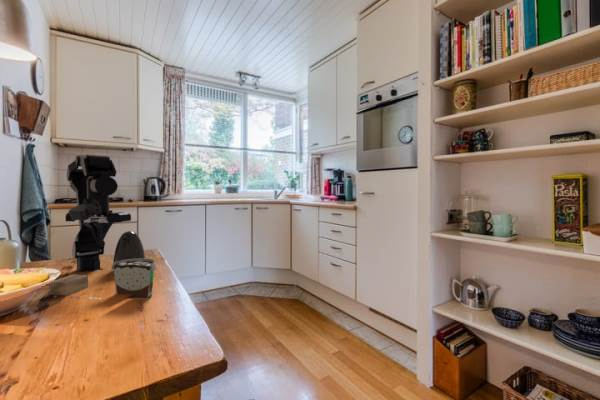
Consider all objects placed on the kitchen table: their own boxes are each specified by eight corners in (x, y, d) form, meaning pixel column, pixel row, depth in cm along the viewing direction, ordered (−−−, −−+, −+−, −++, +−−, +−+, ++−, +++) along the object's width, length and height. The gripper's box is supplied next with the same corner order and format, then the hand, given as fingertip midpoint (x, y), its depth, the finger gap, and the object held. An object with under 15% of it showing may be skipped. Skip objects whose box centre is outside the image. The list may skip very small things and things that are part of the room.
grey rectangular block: (50, 294, 80) (49, 282, 80) (73, 286, 87) (73, 274, 86) (66, 295, 79) (65, 282, 79) (88, 286, 86) (87, 275, 86)
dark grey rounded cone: (107, 277, 99) (106, 233, 98) (121, 269, 109) (120, 229, 108) (139, 276, 100) (138, 233, 99) (150, 268, 110) (149, 228, 110)
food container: (165, 291, 86) (165, 258, 85) (153, 299, 80) (152, 263, 79) (126, 290, 87) (126, 257, 86) (111, 297, 81) (111, 262, 80)
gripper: (47, 195, 85) (48, 247, 85) (104, 196, 82) (105, 250, 83) (80, 194, 96) (82, 240, 96) (131, 195, 93) (132, 242, 94)
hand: (99, 243), depth 92 cm, fingers closed
